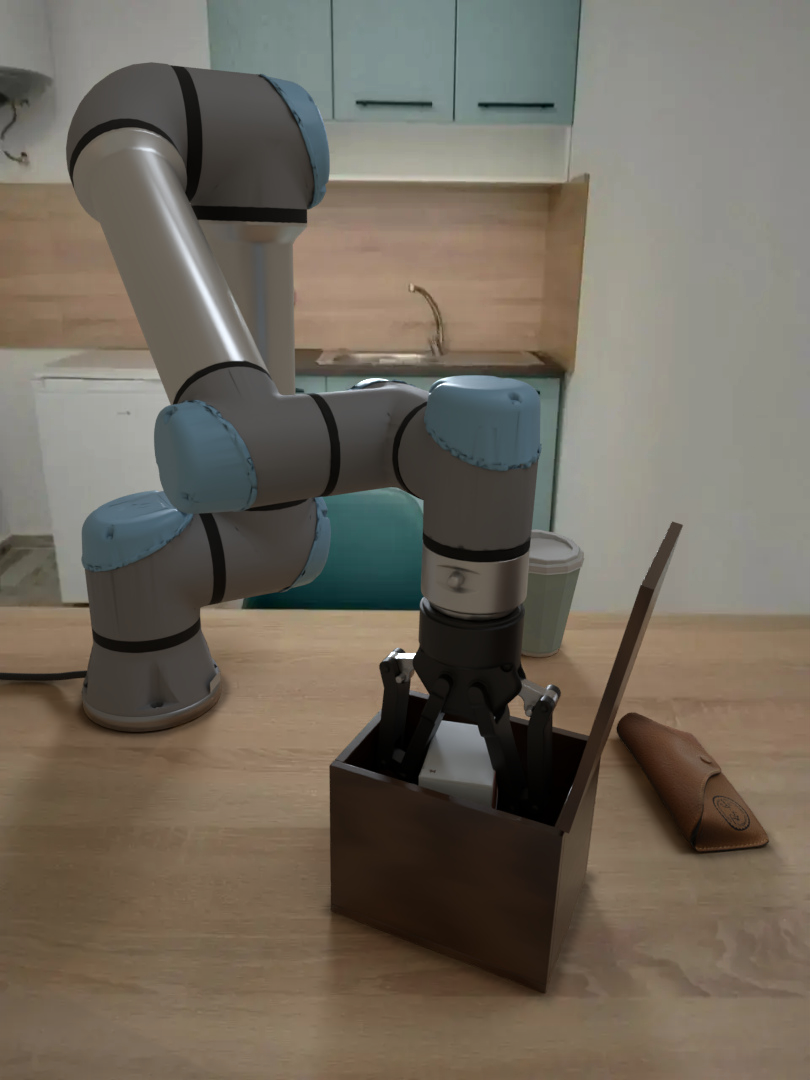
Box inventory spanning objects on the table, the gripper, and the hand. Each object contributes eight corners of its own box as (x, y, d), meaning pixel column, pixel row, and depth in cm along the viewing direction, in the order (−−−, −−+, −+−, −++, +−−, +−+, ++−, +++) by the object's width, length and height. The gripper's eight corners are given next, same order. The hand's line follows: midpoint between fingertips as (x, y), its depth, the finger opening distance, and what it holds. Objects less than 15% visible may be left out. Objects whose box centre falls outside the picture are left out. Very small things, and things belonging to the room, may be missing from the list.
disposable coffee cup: (587, 642, 111) (599, 537, 106) (555, 675, 102) (567, 563, 97) (515, 622, 116) (523, 521, 111) (479, 652, 108) (486, 544, 102)
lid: (640, 584, 47) (654, 589, 47) (671, 521, 58) (683, 524, 57) (557, 829, 54) (569, 834, 54) (598, 732, 65) (608, 736, 65)
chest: (330, 911, 66) (328, 765, 61) (397, 817, 77) (400, 687, 72) (545, 994, 59) (562, 837, 54) (585, 878, 70) (603, 739, 65)
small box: (485, 902, 63) (494, 788, 59) (413, 889, 64) (417, 776, 60) (496, 832, 70) (505, 726, 67) (431, 822, 71) (436, 717, 68)
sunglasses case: (778, 842, 74) (753, 791, 72) (709, 879, 74) (682, 830, 72) (687, 729, 91) (664, 685, 88) (631, 761, 91) (606, 717, 89)
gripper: (328, 591, 60) (329, 849, 68) (596, 651, 52) (562, 932, 60) (374, 557, 66) (371, 796, 74) (619, 606, 59) (585, 866, 67)
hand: (456, 857), depth 67 cm, fingers closed on small box, 6 cm apart
